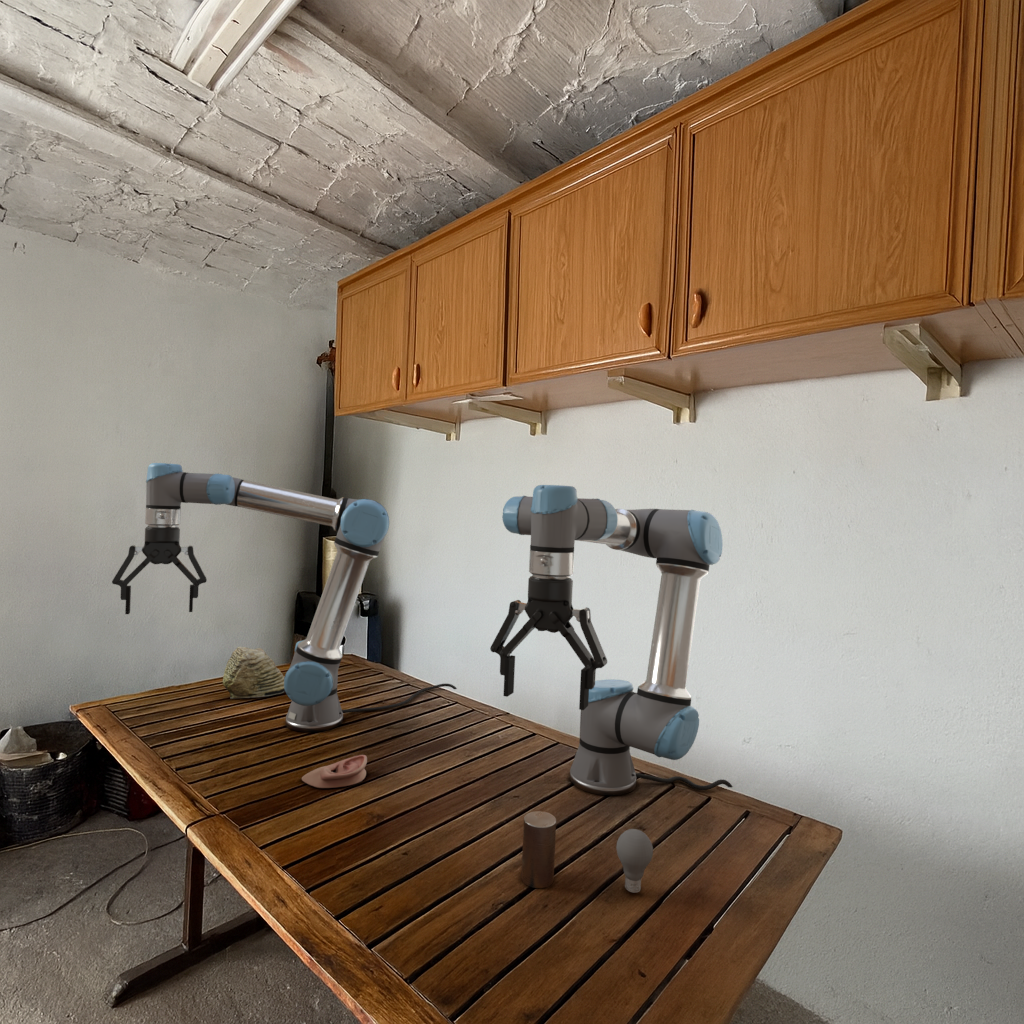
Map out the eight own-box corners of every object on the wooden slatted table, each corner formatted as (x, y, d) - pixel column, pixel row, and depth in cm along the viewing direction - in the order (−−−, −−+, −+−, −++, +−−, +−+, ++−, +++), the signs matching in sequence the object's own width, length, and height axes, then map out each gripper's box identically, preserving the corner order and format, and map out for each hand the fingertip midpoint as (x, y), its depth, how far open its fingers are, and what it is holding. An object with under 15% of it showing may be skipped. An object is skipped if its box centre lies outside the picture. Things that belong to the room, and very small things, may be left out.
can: (524, 889, 105) (526, 827, 105) (519, 869, 110) (521, 811, 110) (556, 887, 106) (559, 826, 106) (550, 868, 111) (552, 810, 111)
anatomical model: (294, 766, 138) (320, 747, 150) (294, 784, 138) (320, 763, 150) (351, 774, 136) (373, 754, 147) (350, 792, 136) (372, 770, 147)
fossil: (218, 695, 195) (220, 647, 195) (278, 685, 208) (279, 640, 207) (228, 703, 189) (230, 653, 188) (289, 692, 201) (290, 645, 201)
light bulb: (610, 879, 108) (613, 822, 108) (644, 879, 109) (647, 822, 109) (619, 902, 102) (622, 840, 102) (655, 901, 103) (658, 840, 103)
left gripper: (100, 525, 147) (97, 617, 147) (219, 528, 158) (216, 612, 158) (104, 524, 153) (102, 611, 154) (218, 526, 164) (215, 607, 165)
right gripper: (474, 571, 109) (469, 694, 109) (618, 585, 99) (611, 720, 99) (493, 568, 115) (488, 683, 116) (628, 580, 106) (622, 706, 106)
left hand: (159, 612), depth 156 cm, fingers open, 13 cm apart
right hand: (545, 701), depth 108 cm, fingers open, 13 cm apart
